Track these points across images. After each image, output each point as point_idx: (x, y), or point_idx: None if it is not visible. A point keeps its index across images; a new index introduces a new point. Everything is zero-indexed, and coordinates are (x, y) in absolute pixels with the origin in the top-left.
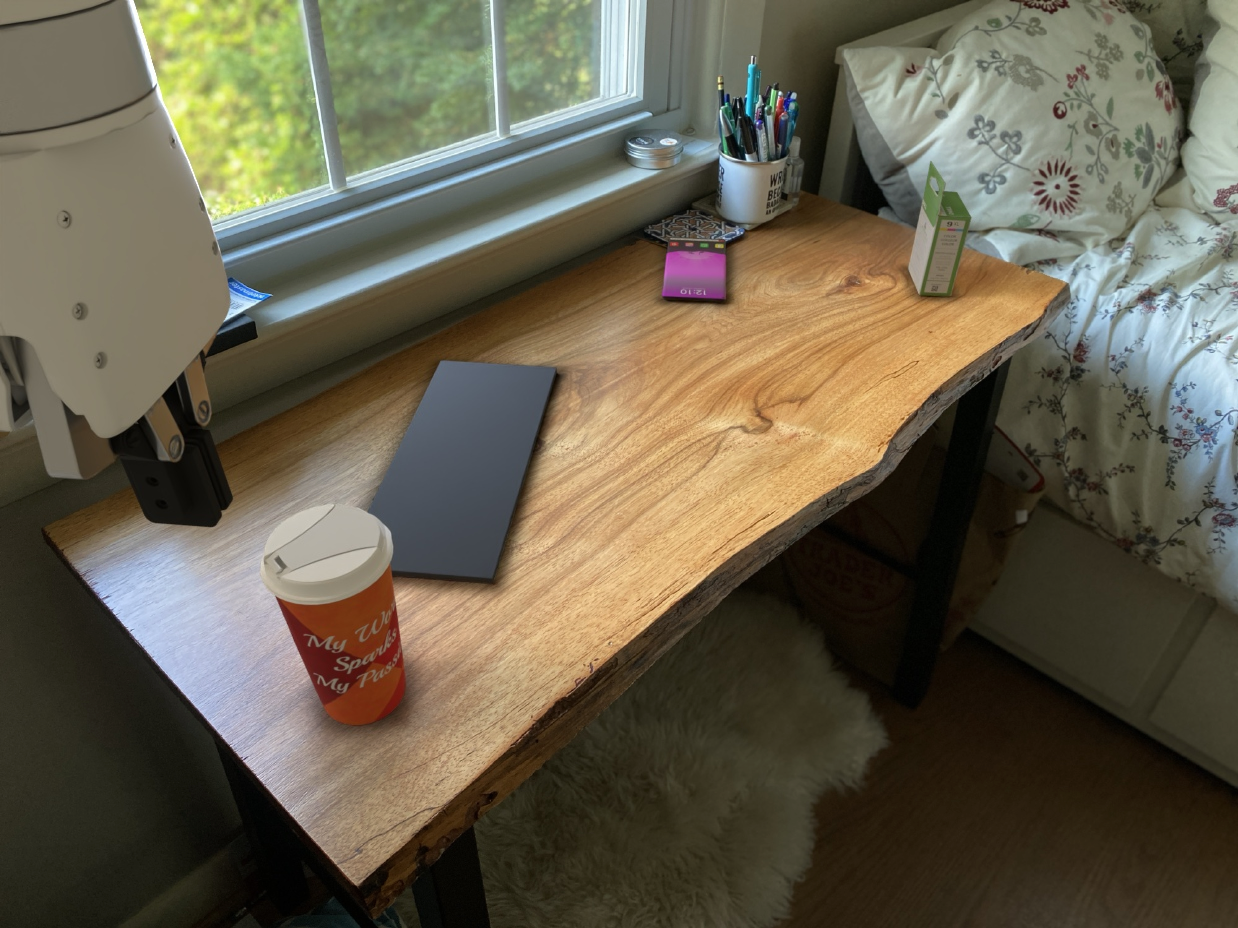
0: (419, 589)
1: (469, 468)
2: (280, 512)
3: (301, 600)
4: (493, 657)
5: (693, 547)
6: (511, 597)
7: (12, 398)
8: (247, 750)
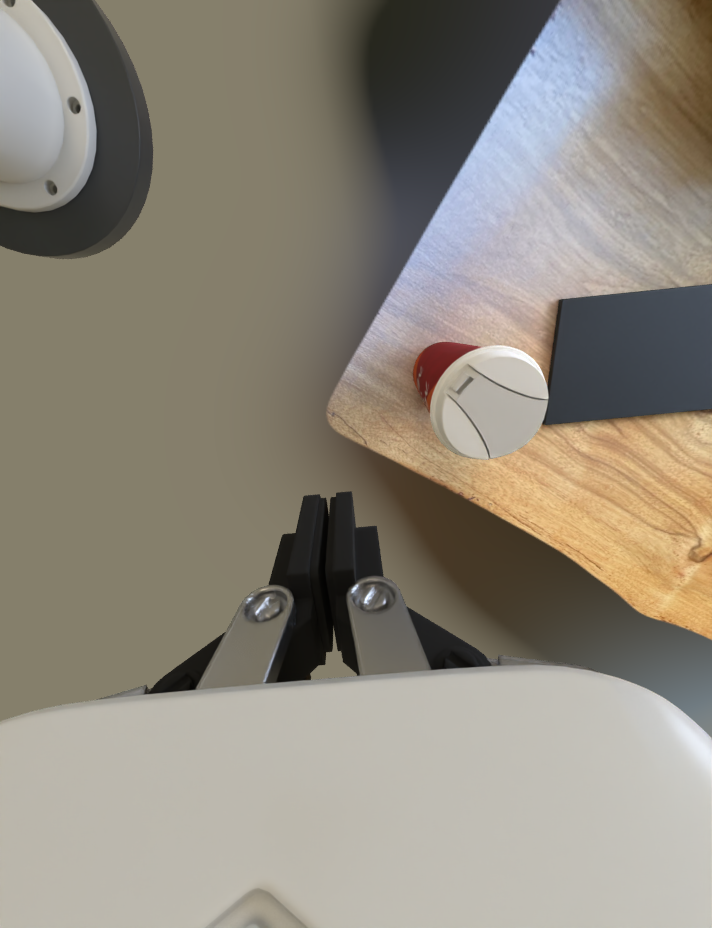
0: None
1: (683, 365)
2: (648, 192)
3: (431, 410)
4: None
5: (572, 533)
6: None
7: (34, 740)
8: (383, 311)
